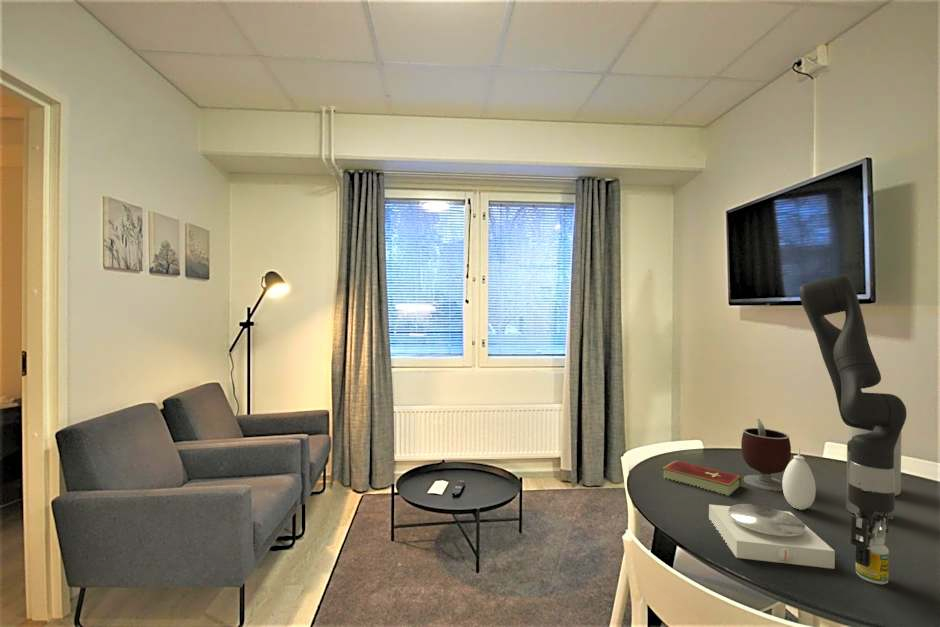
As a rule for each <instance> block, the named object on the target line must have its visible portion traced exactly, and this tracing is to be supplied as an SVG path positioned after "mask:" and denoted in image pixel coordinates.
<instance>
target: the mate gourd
mask: <svg viewBox="0 0 940 627" xmlns="http://www.w3.org/2000/svg"><path fill="white" fill-rule="evenodd" d="M756 421H757V427H751V428H750V427H749V428H744V429H743V433H742V436H741V445H740V447H741V454H742V458H743V461H745V463H746V464H747V465H748V467H750V468H751V469H753V470H755V471H757V472H759V475H758V474H749V475H744V477H743V482H745V484H747V485H749V486H751V487H753V488H757V489H759V490H760V489H761V490H765V491H770V490H773V491H772V492H782V491H781V490H783V487H782V481H783V480H780V479H777V478H774V477H771V476H772V474H778V473H784V472H785V469H786V467H787V466H788V464H789V463H790V461H791V457H792V446H791V440H790V435H789V434H787V433H785V432H782V431H779V430H773V429H768V428H765V426H764V424H763V422H762V421H761V420H760V418H757V419H756Z"/></svg>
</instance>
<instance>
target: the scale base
mask: <svg viewBox="0 0 940 627" xmlns="http://www.w3.org/2000/svg"><path fill="white" fill-rule="evenodd" d="M708 505H709V506H708V520H709V521H710V520H711V521H712V522H711V521H710V522H711V524H712V523H713V524H714V525H713V524H712V525H713V527H714V526H715V527H716V528H715V527H714V528H715V529H716V530H718V531H719V532H718V531H717V532H718V534H719V533H720V534H721V535H720V534H719V535H720V537H721V538H722V537H723V538H722V539H723V541H724V540H725V541H724V542H725V543H727V544H726V545H727V546H728V548H729V549H730V551H731V552H732V554H733V555H734V556H735V558H737V559H745V560H753V561H764V562H771V563H780V564H781V563H782V564H789V565H799V566H807V567H813V568H814V567H817V568H824V569H834V570H835V563H836V561H835V560H836V558H835V557H836V552H835V550H834V549H833V548H832V547H831V546H830V545H829V544H828V543H826V542H825V540H823V539H822V538H820V537H819V536H818V534H816V533H815V532H814V531H813V530H812V529H810V528H809V527H808V526H807V525H806V524H804V525H805V533H804V534H803V535H800V536H796V537H780V536H773V535H768V534H763V533H760V532H756V531H753V530H751V529H748V528H746V527H744V526H741V525H740V524H738V523H736V522H735V521H734V520H732V519H731V518H730V516H729V508H730V507H731V506H732V505H720V504H718V505H717V504H710V503H709V504H708ZM783 511H784V512H786V513H789V514H791V515H793V516H795V517H796V518H798V517H797V516H796V515H794V514H793V513H792V512H791V511H785V510H783Z"/></svg>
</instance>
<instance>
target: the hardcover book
mask: <svg viewBox="0 0 940 627" xmlns="http://www.w3.org/2000/svg"><path fill="white" fill-rule="evenodd" d="M661 469H662V470H663V479H665V478H667V479H666V480H669V479H671V480H670V481H673V480H675V481H674V482H676V481H679V482H678V483H680V482H683V483H687V484H690V485H689V486H691V485H693V486H692V487H694V486H697V487H696V488H698V487H700V488H699V489H702V488H704V489H703V490H705V489H707V490H706V491H709V490H711V491H710V492H713V491H715V492H714V493H716V492H717V494H720V493H721V494H720V495H723V494H725V495H724V496H728V497H729V496H730V495H732V493H734V492H735V491H736V490H737V489H738V488H739V487H740V488H741V487H742V476H740V475H737V474H733V473H728V472H724V471H721V470H717V469H711V468H708V467H705V466H701V465H700V466H699V465H696V464H690V463H687V462H683V461H678V460H674V461H672V462H670V463H669V464H666V465H665V466H663V467H662V468H661ZM683 483H682V484H683ZM687 484H686V485H687ZM733 491H734V492H733Z"/></svg>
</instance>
